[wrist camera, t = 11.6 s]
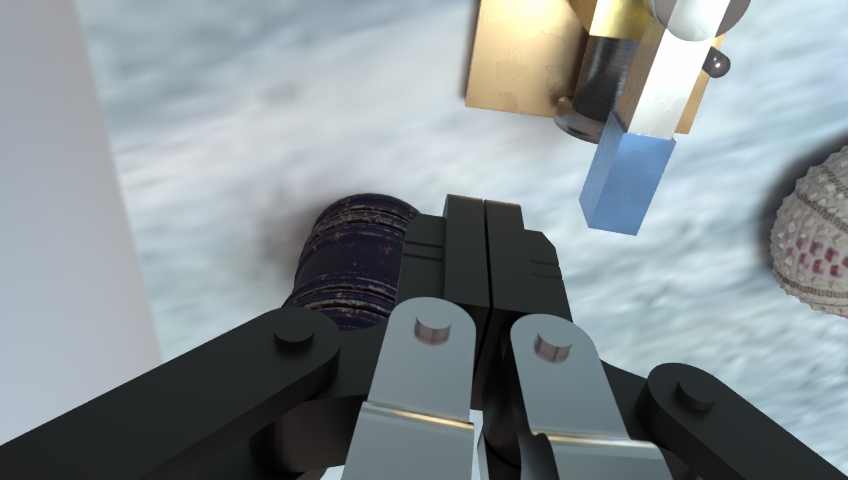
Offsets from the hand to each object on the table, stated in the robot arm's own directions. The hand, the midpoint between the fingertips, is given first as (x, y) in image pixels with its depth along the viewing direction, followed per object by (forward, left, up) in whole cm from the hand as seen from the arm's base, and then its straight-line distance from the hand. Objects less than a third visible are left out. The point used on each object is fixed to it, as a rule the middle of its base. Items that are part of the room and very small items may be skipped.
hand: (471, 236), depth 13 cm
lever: (-9, +2, -18) cm, 20 cm away
